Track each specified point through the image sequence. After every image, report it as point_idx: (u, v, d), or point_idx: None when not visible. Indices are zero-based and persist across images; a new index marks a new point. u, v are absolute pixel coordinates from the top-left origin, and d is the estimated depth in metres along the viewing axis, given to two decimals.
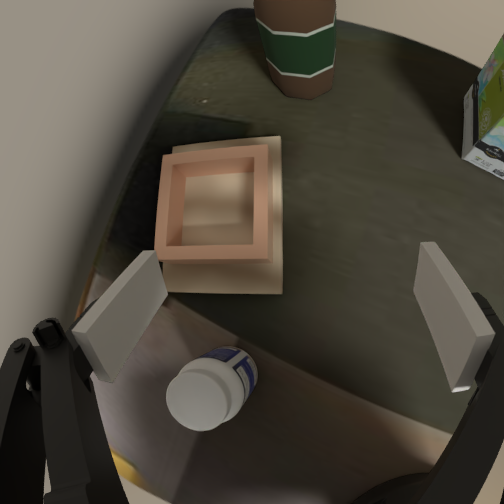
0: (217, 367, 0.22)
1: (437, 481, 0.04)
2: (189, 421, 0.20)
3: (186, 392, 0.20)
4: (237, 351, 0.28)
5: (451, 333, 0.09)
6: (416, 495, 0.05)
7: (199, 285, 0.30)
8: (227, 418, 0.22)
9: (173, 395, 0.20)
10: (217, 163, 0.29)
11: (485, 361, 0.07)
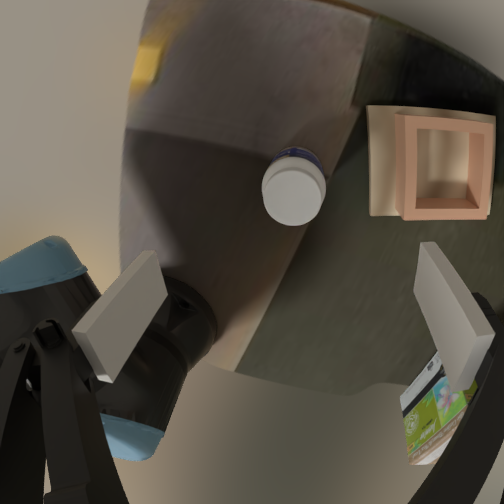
0: None
1: (437, 481, 0.04)
2: (271, 194, 0.24)
3: (300, 190, 0.24)
4: None
5: (451, 333, 0.09)
6: (416, 495, 0.05)
7: (376, 143, 0.29)
8: None
9: (294, 178, 0.24)
10: (478, 173, 0.26)
11: (485, 361, 0.07)
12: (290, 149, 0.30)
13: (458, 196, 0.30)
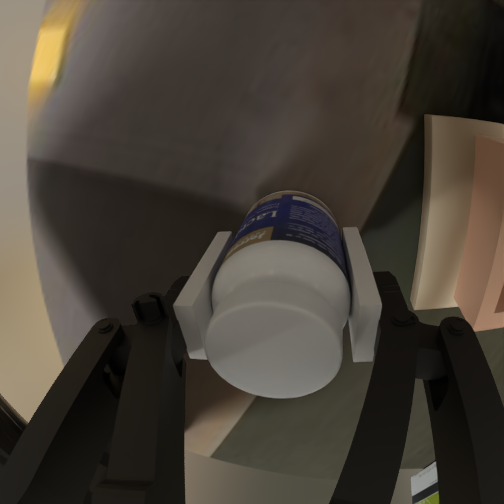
0: None
1: (350, 461, 0.05)
2: (222, 346, 0.10)
3: (292, 346, 0.09)
4: None
5: (352, 306, 0.12)
6: None
7: (441, 190, 0.15)
8: None
9: (278, 321, 0.09)
10: None
11: (377, 332, 0.10)
12: (279, 202, 0.15)
13: None
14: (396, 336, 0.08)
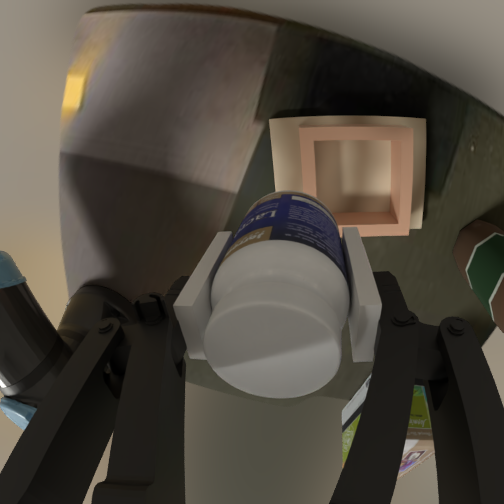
0: None
1: (350, 461, 0.05)
2: (221, 346, 0.10)
3: (291, 345, 0.09)
4: None
5: (352, 306, 0.12)
6: None
7: (279, 158, 0.30)
8: None
9: (277, 321, 0.09)
10: (398, 184, 0.27)
11: (377, 332, 0.10)
12: (278, 201, 0.15)
13: (380, 209, 0.31)
14: (396, 336, 0.08)
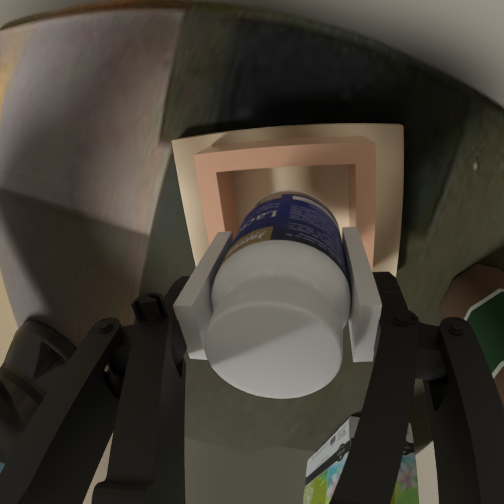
0: None
1: (350, 461, 0.05)
2: (222, 346, 0.10)
3: (292, 346, 0.09)
4: None
5: (352, 306, 0.12)
6: None
7: (189, 192, 0.23)
8: None
9: (278, 321, 0.09)
10: None
11: (377, 332, 0.10)
12: (279, 201, 0.15)
13: None
14: (396, 336, 0.08)
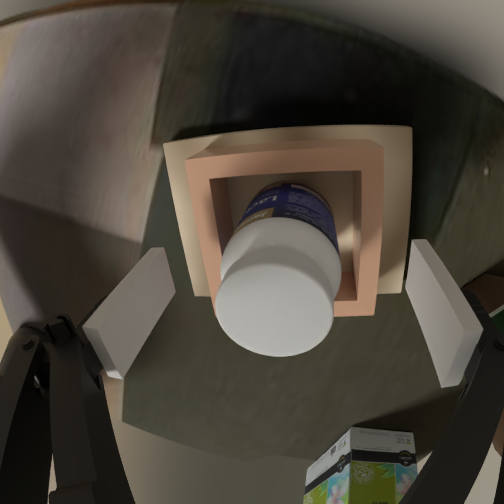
0: None
1: (428, 478, 0.04)
2: (230, 305, 0.12)
3: (290, 303, 0.11)
4: None
5: (440, 329, 0.10)
6: (408, 492, 0.05)
7: (182, 199, 0.21)
8: None
9: (278, 280, 0.11)
10: (358, 239, 0.18)
11: (474, 356, 0.08)
12: (278, 189, 0.17)
13: None
14: (495, 360, 0.06)
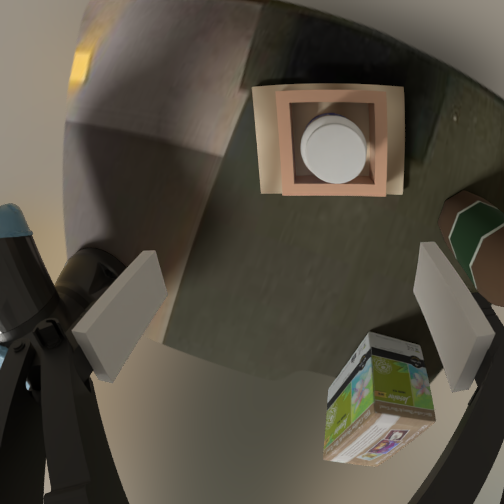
0: None
1: (437, 481, 0.04)
2: (314, 148, 0.22)
3: (345, 146, 0.22)
4: None
5: (451, 333, 0.09)
6: (416, 495, 0.05)
7: (261, 122, 0.31)
8: None
9: (340, 132, 0.21)
10: (373, 146, 0.28)
11: (485, 361, 0.07)
12: (327, 113, 0.27)
13: None
14: None
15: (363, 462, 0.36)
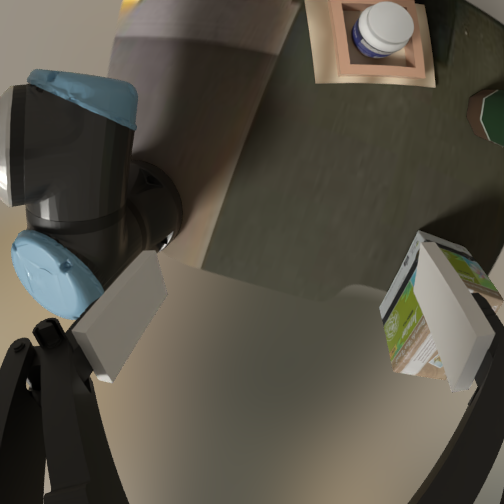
0: None
1: (437, 481, 0.04)
2: (375, 15, 0.21)
3: (397, 16, 0.21)
4: None
5: (451, 333, 0.09)
6: (416, 495, 0.05)
7: (313, 24, 0.30)
8: (370, 40, 0.24)
9: (392, 7, 0.20)
10: (409, 40, 0.27)
11: (485, 361, 0.07)
12: None
13: None
14: None
15: (433, 371, 0.35)
